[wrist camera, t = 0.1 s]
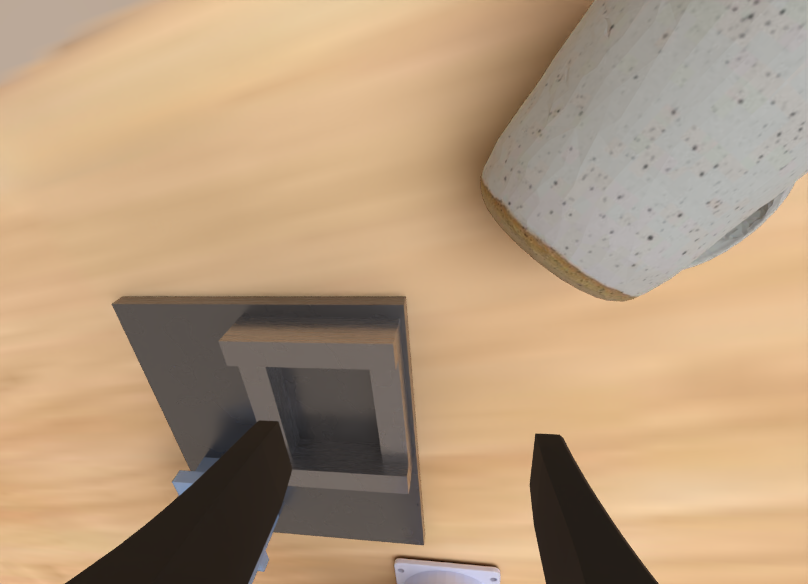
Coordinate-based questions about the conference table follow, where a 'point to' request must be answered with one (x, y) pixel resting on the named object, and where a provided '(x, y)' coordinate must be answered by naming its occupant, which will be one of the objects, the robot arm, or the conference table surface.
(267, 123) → the conference table surface
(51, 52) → the conference table surface
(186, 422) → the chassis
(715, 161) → the ceramic mug
